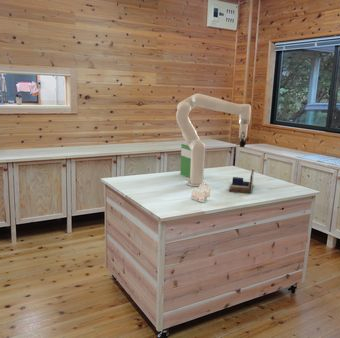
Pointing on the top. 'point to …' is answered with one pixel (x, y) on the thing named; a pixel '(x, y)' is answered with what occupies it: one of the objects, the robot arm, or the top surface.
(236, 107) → the robot arm
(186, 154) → the hardback book
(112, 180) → the top surface
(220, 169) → the top surface
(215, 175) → the top surface
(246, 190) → the brown desk organizer
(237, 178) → the trainer
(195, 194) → the cream knobbly stepped block
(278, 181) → the top surface
